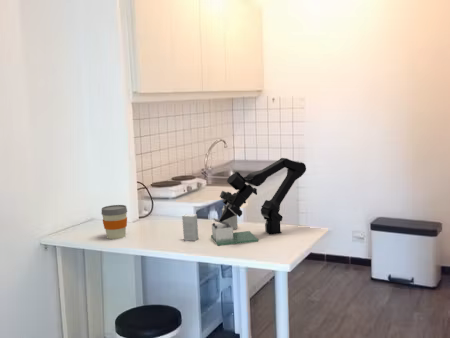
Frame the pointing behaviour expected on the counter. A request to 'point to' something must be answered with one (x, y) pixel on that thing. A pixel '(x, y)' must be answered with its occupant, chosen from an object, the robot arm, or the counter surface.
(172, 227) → the counter surface
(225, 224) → the strap
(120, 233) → the reusable coffee cup
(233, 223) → the can
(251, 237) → the board
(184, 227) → the skincare box
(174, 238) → the counter surface
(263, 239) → the counter surface
